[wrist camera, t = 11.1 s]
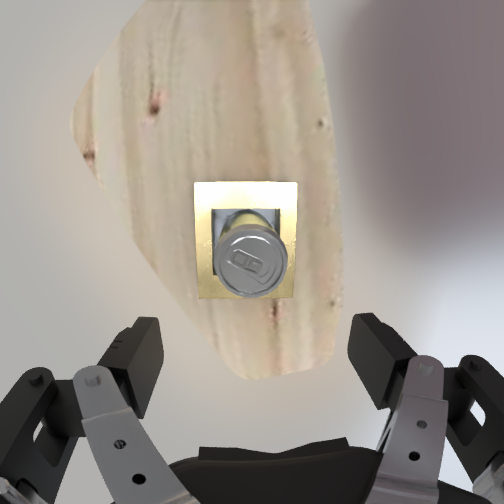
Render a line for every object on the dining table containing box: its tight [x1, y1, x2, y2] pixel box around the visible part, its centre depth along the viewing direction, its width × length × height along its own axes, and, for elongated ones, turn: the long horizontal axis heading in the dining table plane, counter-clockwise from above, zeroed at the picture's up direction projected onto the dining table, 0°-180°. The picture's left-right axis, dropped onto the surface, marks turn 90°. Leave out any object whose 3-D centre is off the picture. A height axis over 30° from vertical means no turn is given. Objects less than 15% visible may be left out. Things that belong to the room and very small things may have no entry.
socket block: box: [194, 182, 297, 299], centre depth 30 cm, size 12×10×4 cm
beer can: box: [214, 210, 288, 298], centre depth 25 cm, size 5×5×12 cm
